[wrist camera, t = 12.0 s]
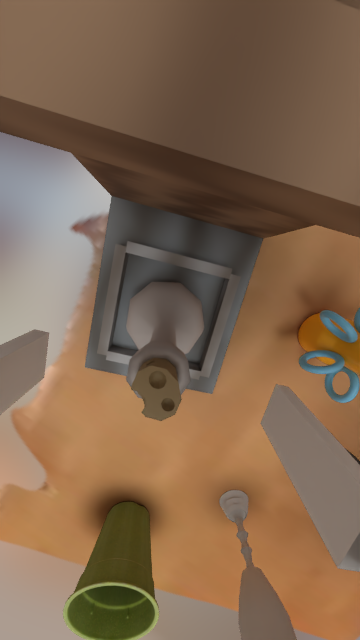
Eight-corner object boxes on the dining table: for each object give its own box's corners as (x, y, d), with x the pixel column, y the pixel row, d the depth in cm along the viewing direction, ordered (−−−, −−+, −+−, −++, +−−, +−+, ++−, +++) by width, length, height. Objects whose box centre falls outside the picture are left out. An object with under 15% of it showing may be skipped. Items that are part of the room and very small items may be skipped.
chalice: (205, 497, 37) (233, 701, 20) (239, 478, 37) (298, 674, 19) (228, 522, 39) (272, 730, 22) (261, 504, 38) (334, 707, 21)
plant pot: (176, 519, 39) (177, 619, 28) (124, 548, 40) (106, 655, 29) (133, 477, 36) (116, 571, 25) (80, 511, 38) (41, 612, 27)
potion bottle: (154, 356, 29) (127, 492, 12) (119, 298, 27) (24, 362, 10) (213, 326, 29) (274, 427, 11) (181, 264, 26) (196, 270, 9)
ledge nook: (264, 226, 27) (728, 45, 4) (211, 389, 32) (294, 677, 10) (116, 184, 25) (-352, -447, 3) (87, 363, 31) (-144, 636, 8)
